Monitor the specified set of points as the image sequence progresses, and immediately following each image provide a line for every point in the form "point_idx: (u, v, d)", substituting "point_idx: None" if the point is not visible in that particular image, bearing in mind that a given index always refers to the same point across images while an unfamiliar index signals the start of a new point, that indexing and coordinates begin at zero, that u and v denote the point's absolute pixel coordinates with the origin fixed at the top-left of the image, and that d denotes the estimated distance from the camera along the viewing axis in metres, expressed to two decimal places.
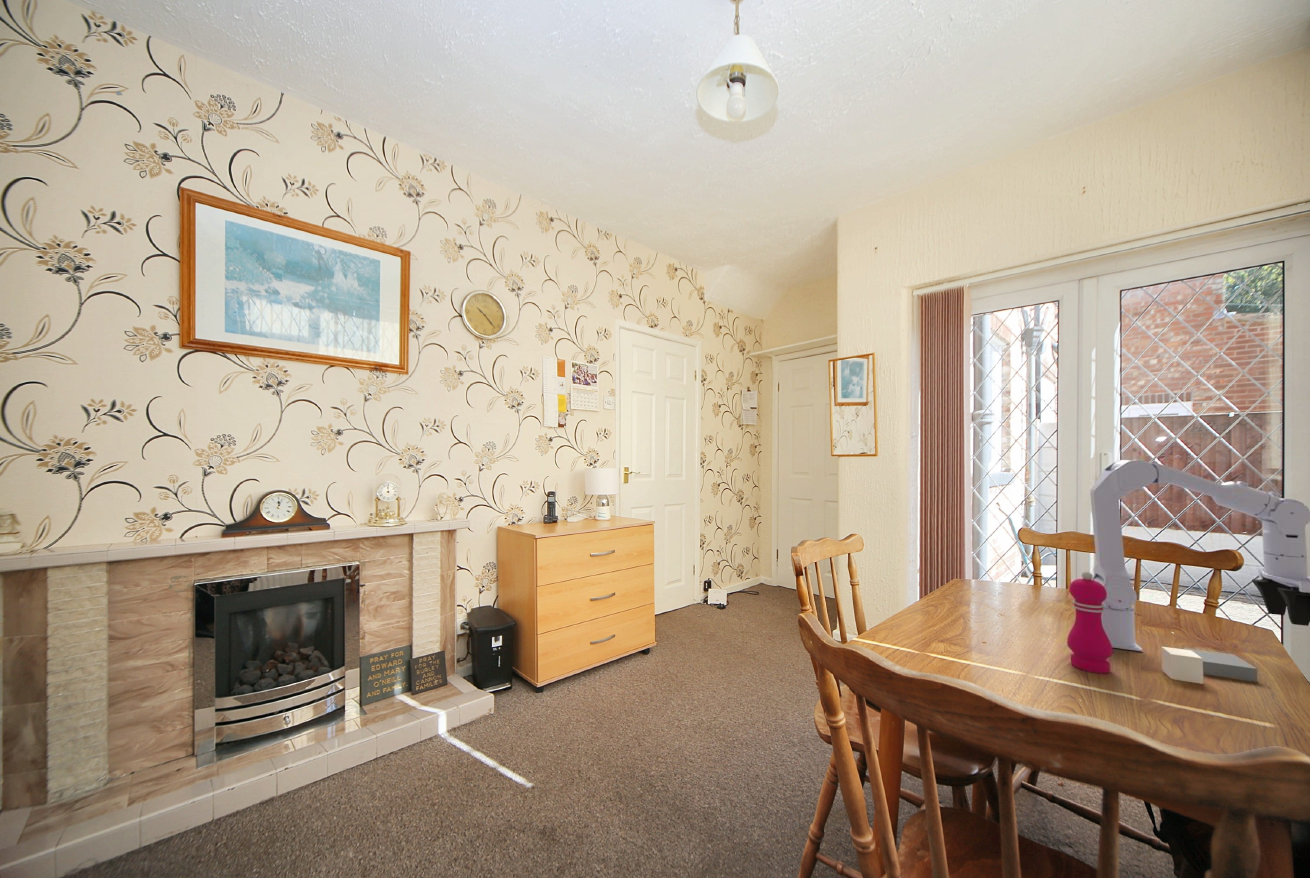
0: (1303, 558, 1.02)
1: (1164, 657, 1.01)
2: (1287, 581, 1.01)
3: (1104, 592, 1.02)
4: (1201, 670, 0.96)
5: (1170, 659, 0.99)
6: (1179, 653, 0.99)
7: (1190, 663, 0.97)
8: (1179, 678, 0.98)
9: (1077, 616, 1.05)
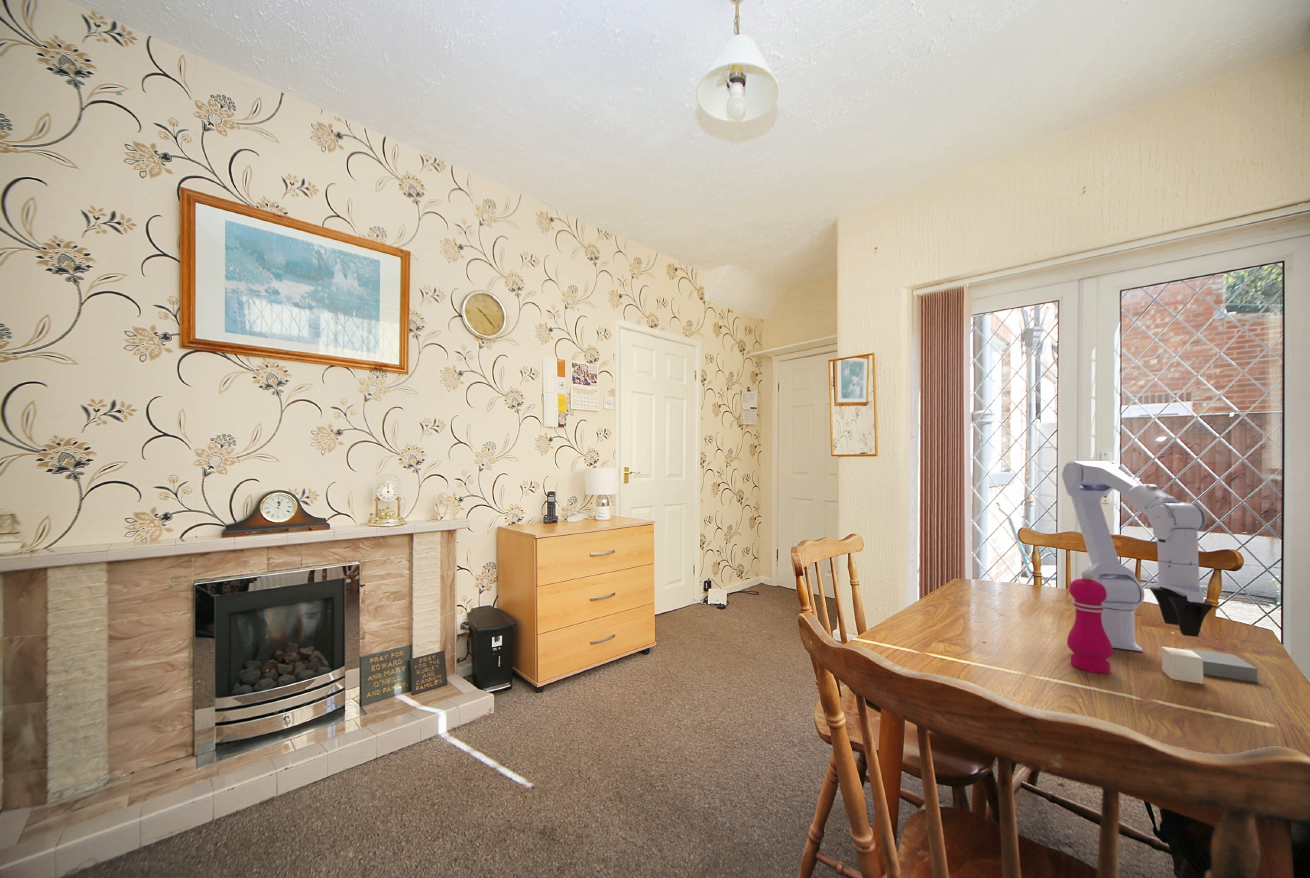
0: (1194, 566, 0.97)
1: (1164, 657, 1.01)
2: (1177, 590, 0.97)
3: (1104, 592, 1.02)
4: (1201, 670, 0.96)
5: (1170, 659, 0.99)
6: (1180, 653, 0.99)
7: (1190, 663, 0.97)
8: (1179, 678, 0.98)
9: (1077, 616, 1.05)
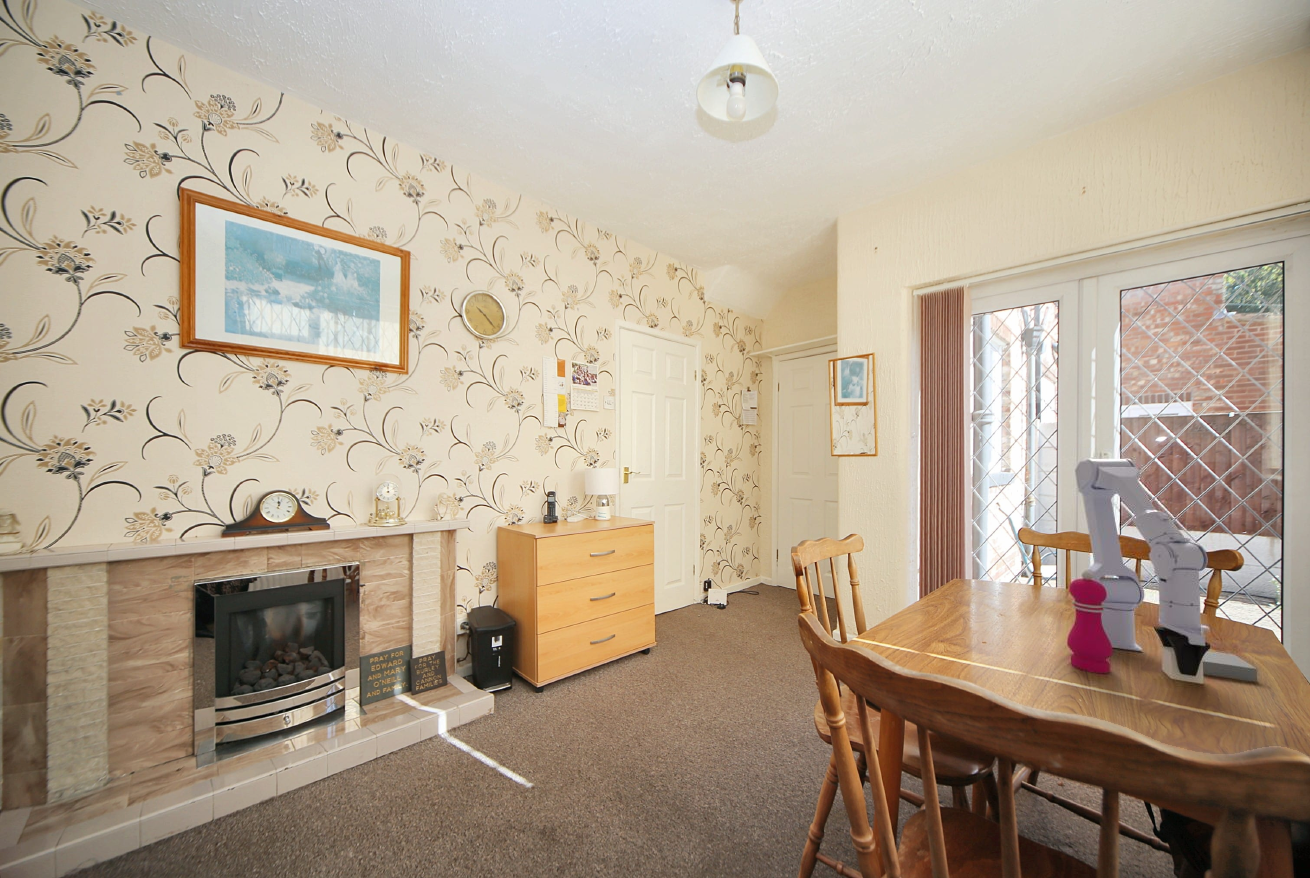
0: (1196, 607, 0.97)
1: (1164, 657, 1.01)
2: (1178, 631, 0.97)
3: (1104, 592, 1.02)
4: (1201, 670, 0.96)
5: (1170, 659, 0.99)
6: None
7: None
8: (1179, 678, 0.98)
9: (1077, 616, 1.05)
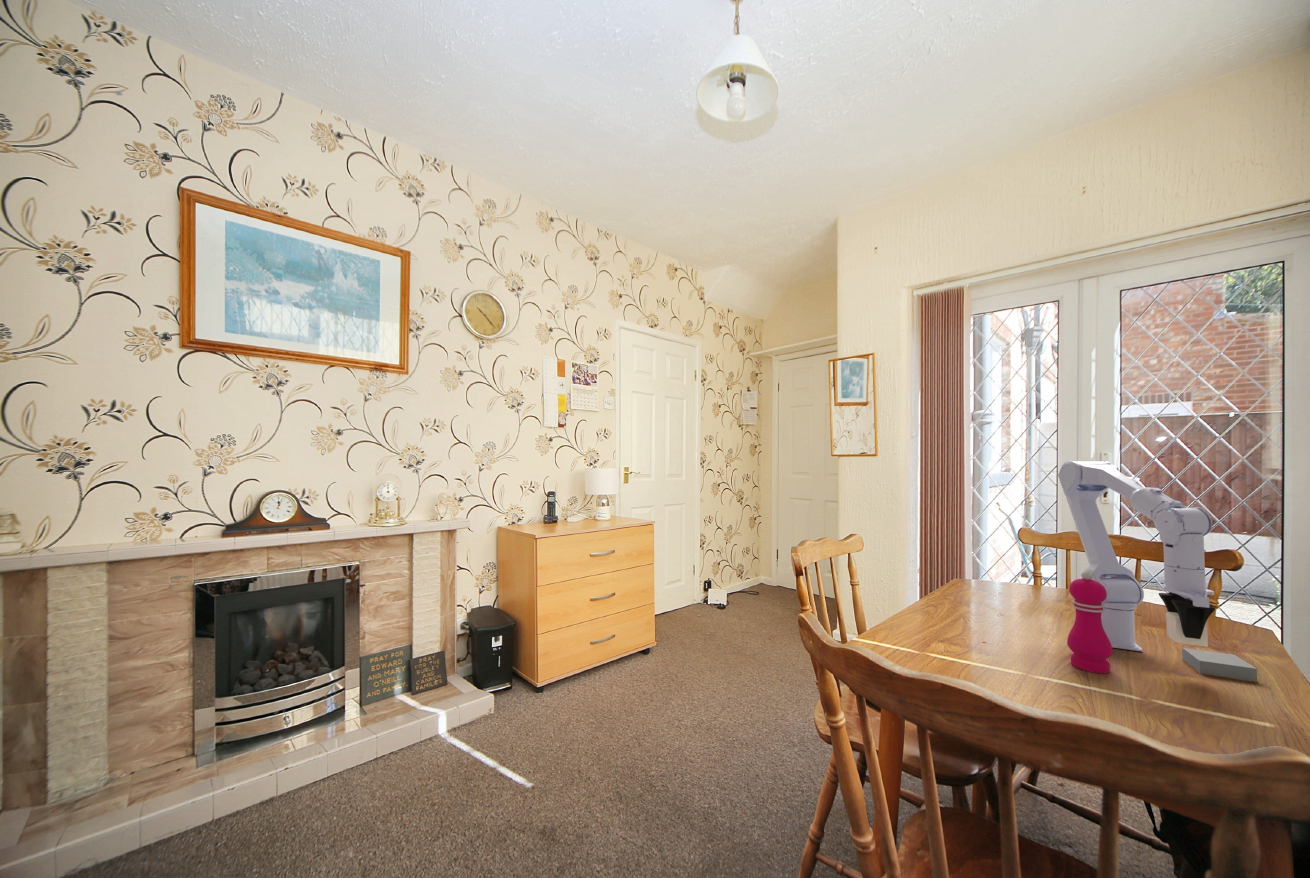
0: (1200, 571, 0.98)
1: (1169, 622, 1.02)
2: (1183, 594, 0.98)
3: (1104, 592, 1.02)
4: (1205, 633, 0.97)
5: (1175, 623, 1.00)
6: None
7: None
8: (1183, 641, 0.99)
9: (1077, 616, 1.05)
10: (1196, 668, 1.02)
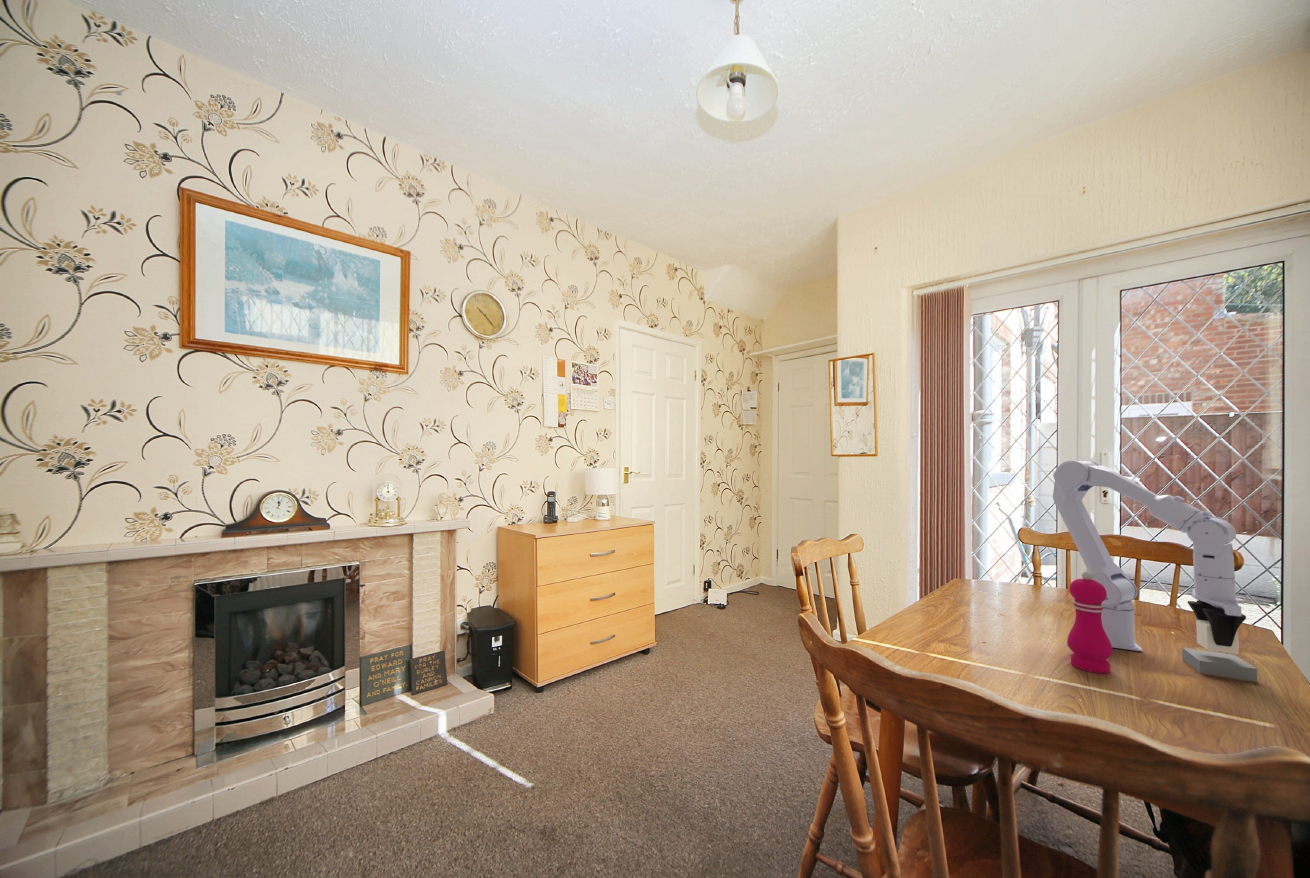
0: (1231, 580, 1.00)
1: (1199, 630, 1.05)
2: (1214, 603, 1.00)
3: (1104, 592, 1.02)
4: (1237, 640, 1.00)
5: (1206, 631, 1.02)
6: None
7: None
8: (1215, 649, 1.01)
9: (1077, 616, 1.05)
10: (1196, 668, 1.02)
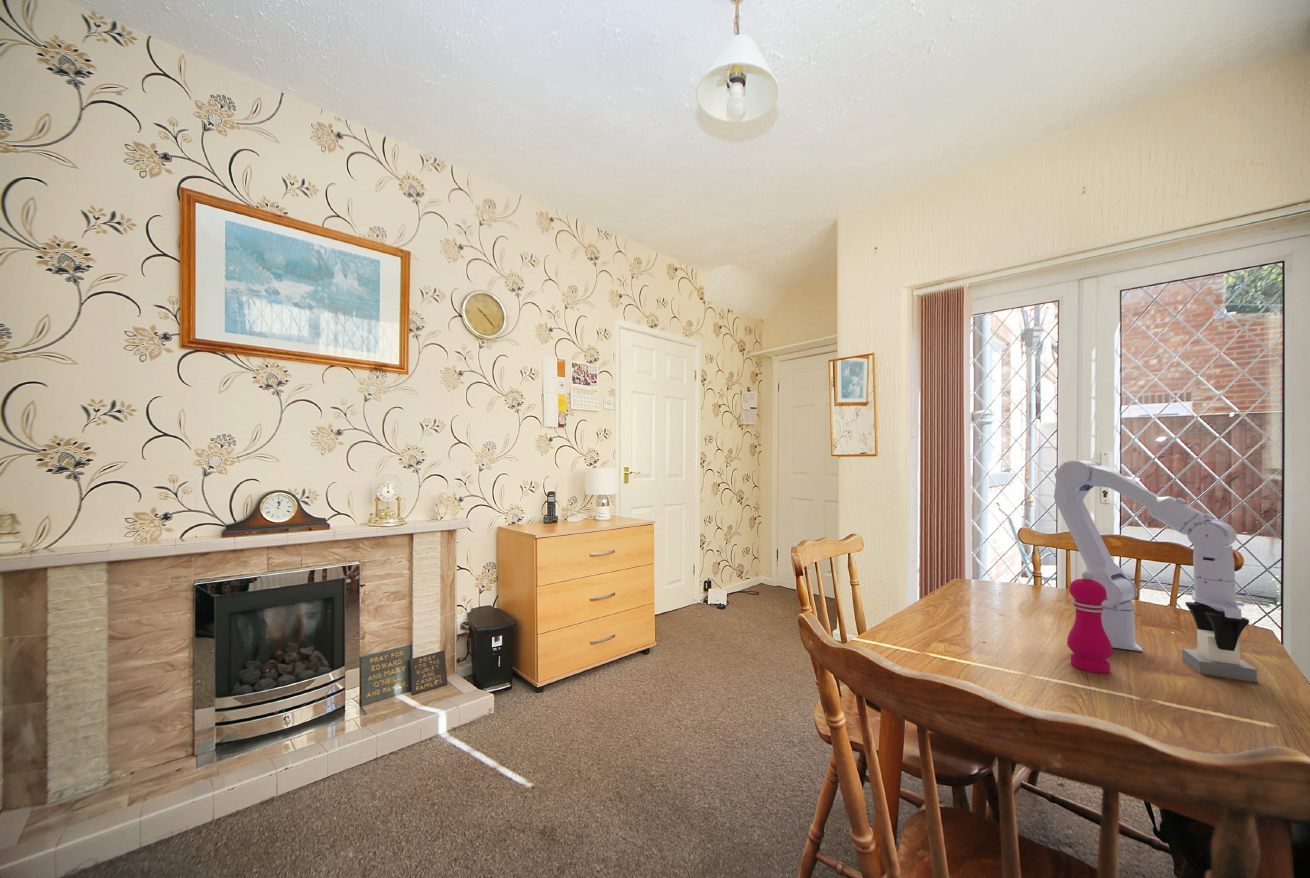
0: (1231, 582, 1.00)
1: (1200, 639, 1.04)
2: (1214, 606, 1.00)
3: (1104, 592, 1.02)
4: (1238, 651, 0.99)
5: (1207, 641, 1.02)
6: None
7: None
8: (1216, 659, 1.01)
9: (1077, 616, 1.05)
10: (1196, 669, 1.02)
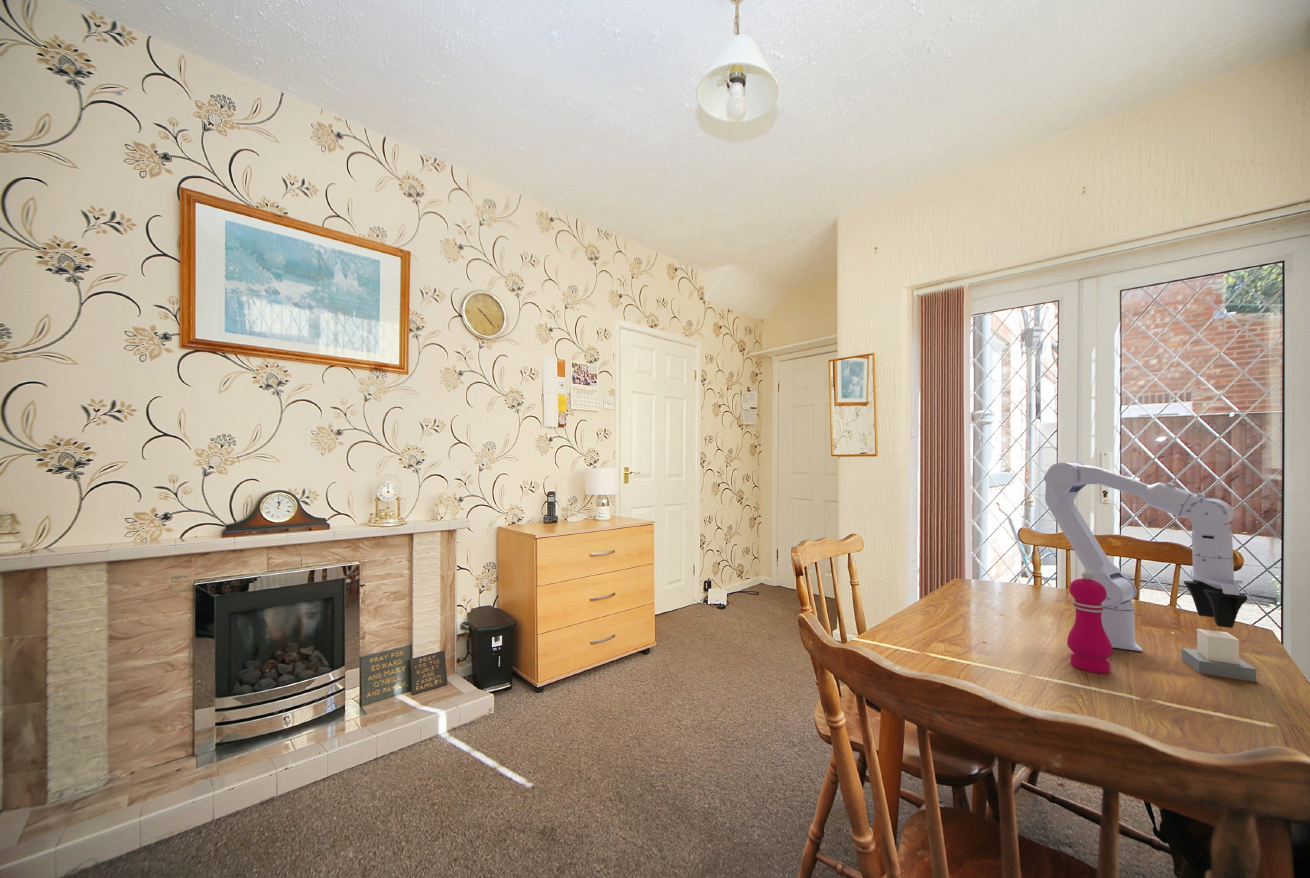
0: (1229, 560, 1.01)
1: (1200, 639, 1.04)
2: (1212, 583, 1.01)
3: (1104, 592, 1.02)
4: (1237, 651, 0.99)
5: (1206, 641, 1.02)
6: (1216, 635, 1.02)
7: (1227, 644, 1.00)
8: (1215, 659, 1.01)
9: (1077, 616, 1.05)
10: (1195, 668, 1.02)
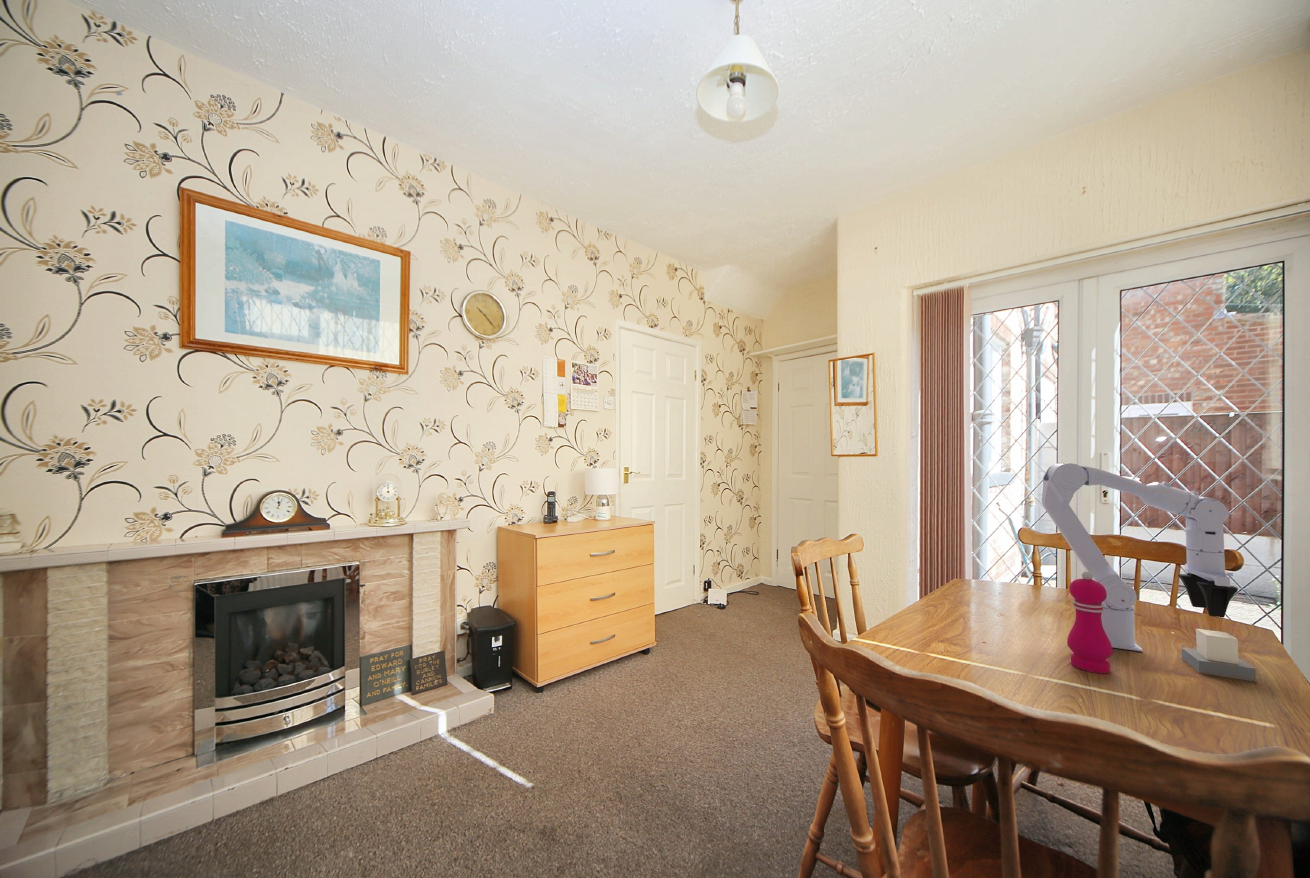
0: (1220, 553, 1.08)
1: (1199, 639, 1.04)
2: (1205, 575, 1.07)
3: (1104, 592, 1.02)
4: (1236, 650, 1.00)
5: (1205, 640, 1.02)
6: (1215, 634, 1.02)
7: (1226, 644, 1.00)
8: (1214, 658, 1.01)
9: (1077, 616, 1.05)
10: (1195, 668, 1.03)
